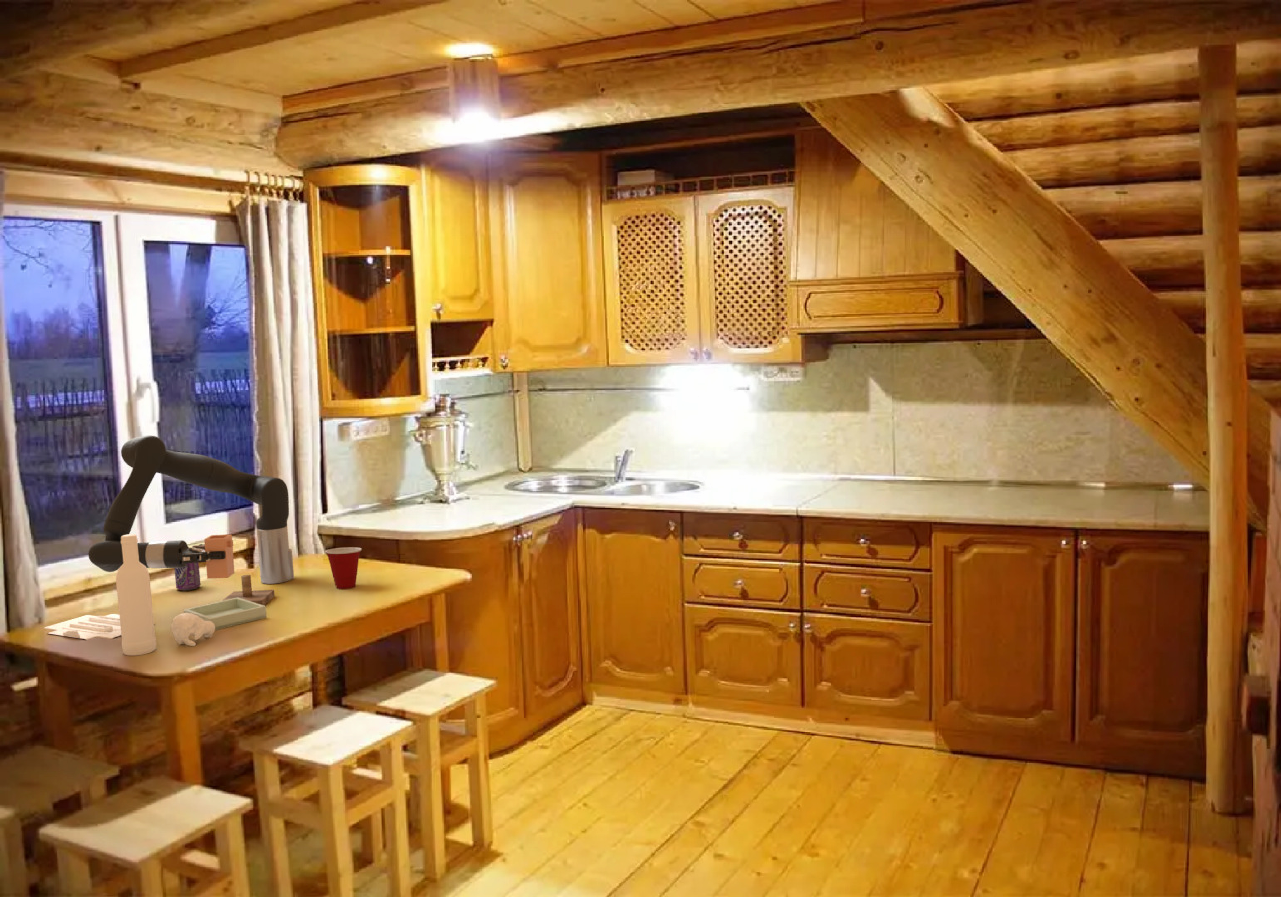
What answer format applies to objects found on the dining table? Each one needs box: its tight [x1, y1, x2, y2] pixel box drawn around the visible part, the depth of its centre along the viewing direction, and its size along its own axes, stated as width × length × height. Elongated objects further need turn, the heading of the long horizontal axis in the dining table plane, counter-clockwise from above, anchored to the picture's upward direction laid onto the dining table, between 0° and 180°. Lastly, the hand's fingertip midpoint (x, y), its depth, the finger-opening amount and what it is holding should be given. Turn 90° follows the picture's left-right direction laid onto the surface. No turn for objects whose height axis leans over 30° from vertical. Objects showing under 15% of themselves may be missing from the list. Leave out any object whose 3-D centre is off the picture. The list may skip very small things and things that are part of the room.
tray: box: [183, 597, 267, 631], centre depth 312 cm, size 16×16×3 cm
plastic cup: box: [324, 546, 362, 590], centre depth 344 cm, size 11×11×12 cm
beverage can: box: [173, 562, 202, 592], centre depth 349 cm, size 7×7×12 cm
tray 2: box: [43, 613, 156, 641], centre depth 310 cm, size 20×28×4 cm
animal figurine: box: [170, 612, 216, 647], centre depth 292 cm, size 6×8×12 cm
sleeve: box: [204, 534, 235, 580], centre depth 310 cm, size 6×6×11 cm
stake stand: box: [221, 574, 276, 606], centre depth 330 cm, size 12×12×8 cm
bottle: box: [115, 533, 157, 657], centre depth 284 cm, size 8×8×30 cm
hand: (228, 552), depth 310 cm, fingers closed on sleeve, 5 cm apart
